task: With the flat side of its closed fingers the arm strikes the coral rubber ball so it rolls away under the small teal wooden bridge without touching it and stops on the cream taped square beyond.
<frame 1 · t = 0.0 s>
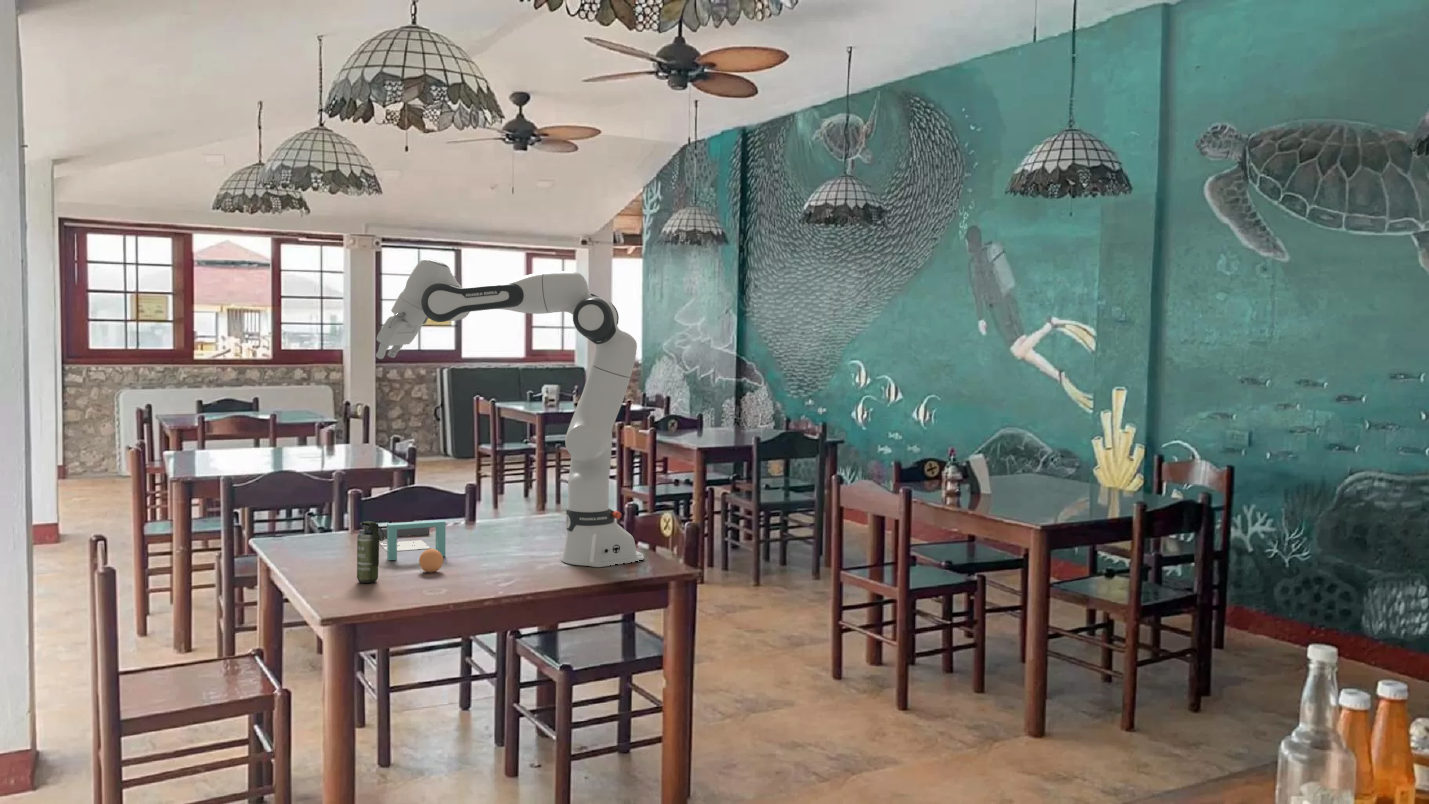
hand: (384, 357, 296), 54 cm above the table, tool tilted 30°, fingers open, 8 cm apart
stopper: (394, 536, 325), on the table
grenade: (370, 582, 270), on the table
ball: (431, 560, 281), on the table
bridge: (416, 557, 298), on the table
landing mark: (404, 546, 312), on the table
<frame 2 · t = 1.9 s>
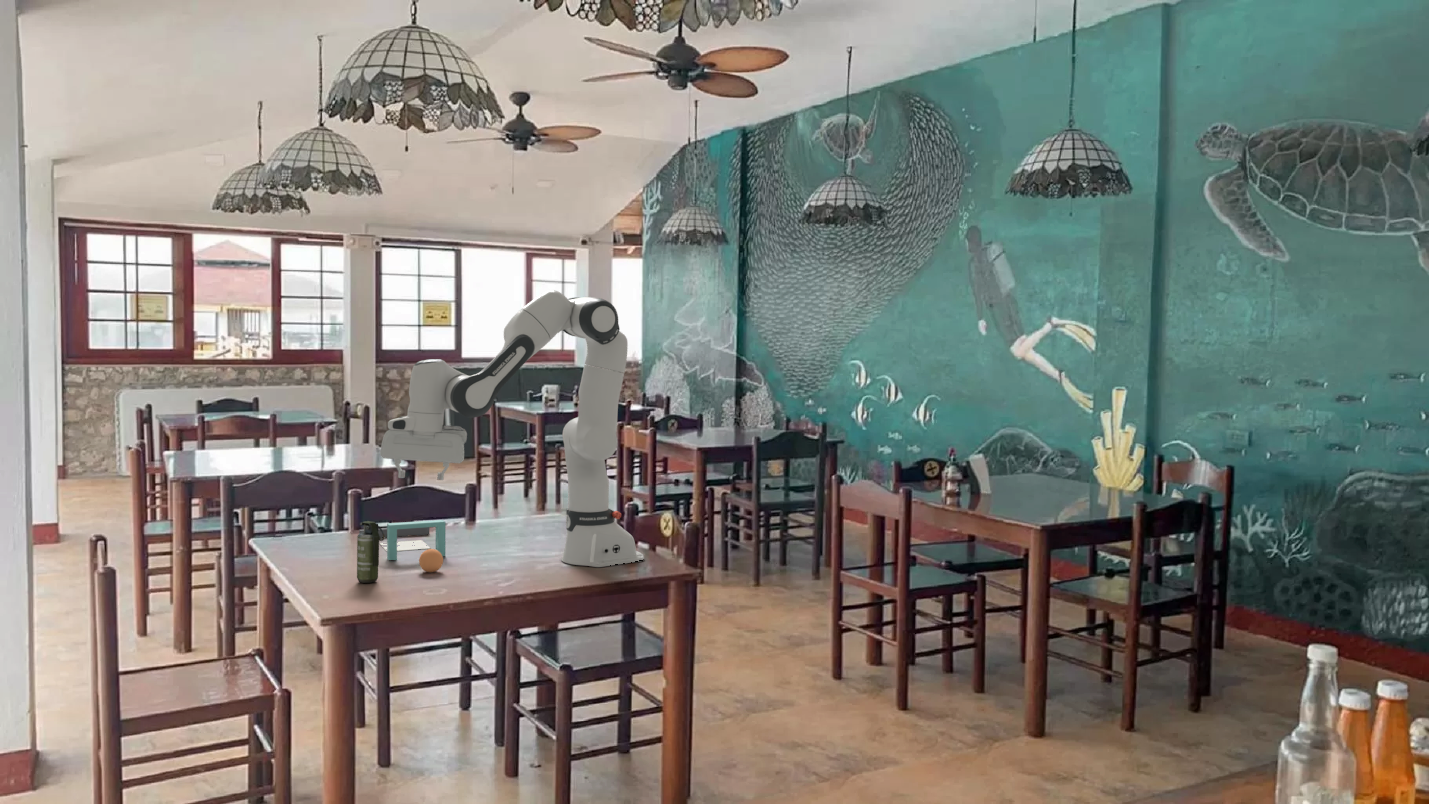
hand: (420, 478, 273), 25 cm above the table, tool pointing down, fingers open, 8 cm apart
nothing on the table moved.
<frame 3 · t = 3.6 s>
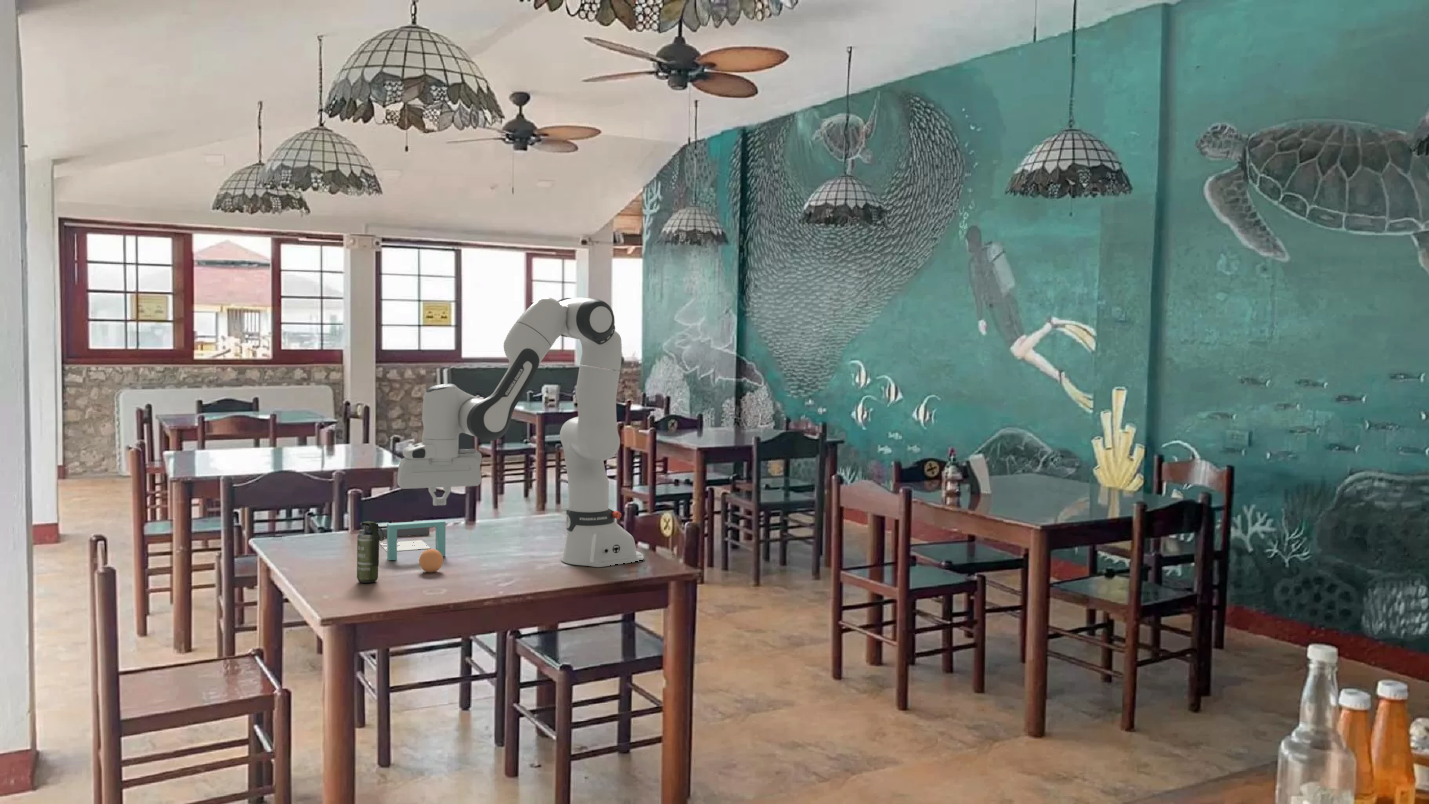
hand: (439, 505, 271), 19 cm above the table, tool pointing down, fingers closed
nothing on the table moved.
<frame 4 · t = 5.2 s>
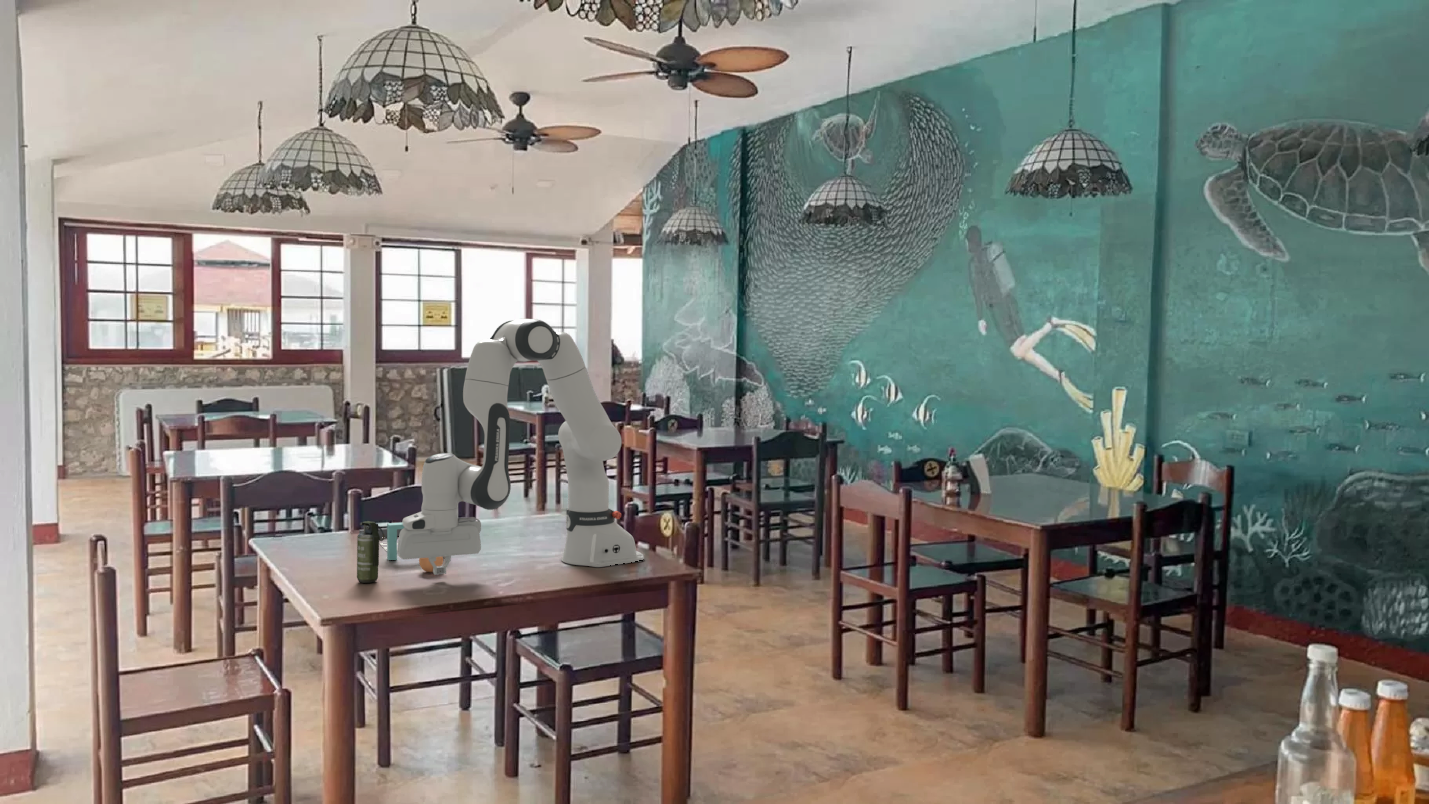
hand: (439, 573, 273), 2 cm above the table, tool pointing down, fingers closed
nothing on the table moved.
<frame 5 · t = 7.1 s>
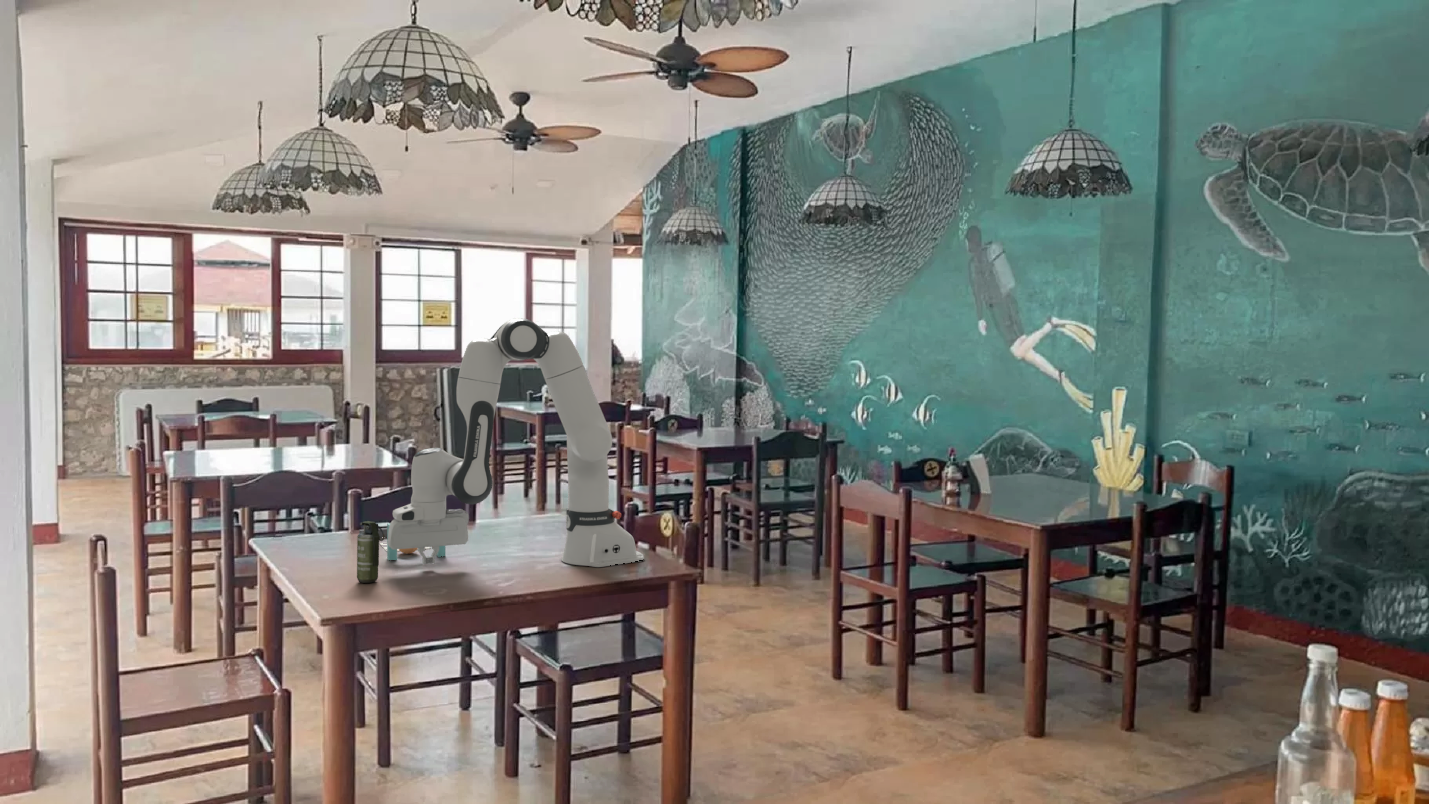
hand: (428, 563, 284), 2 cm above the table, tool pointing down, fingers closed
ball: (408, 542, 302), on the table
everything else where it was.
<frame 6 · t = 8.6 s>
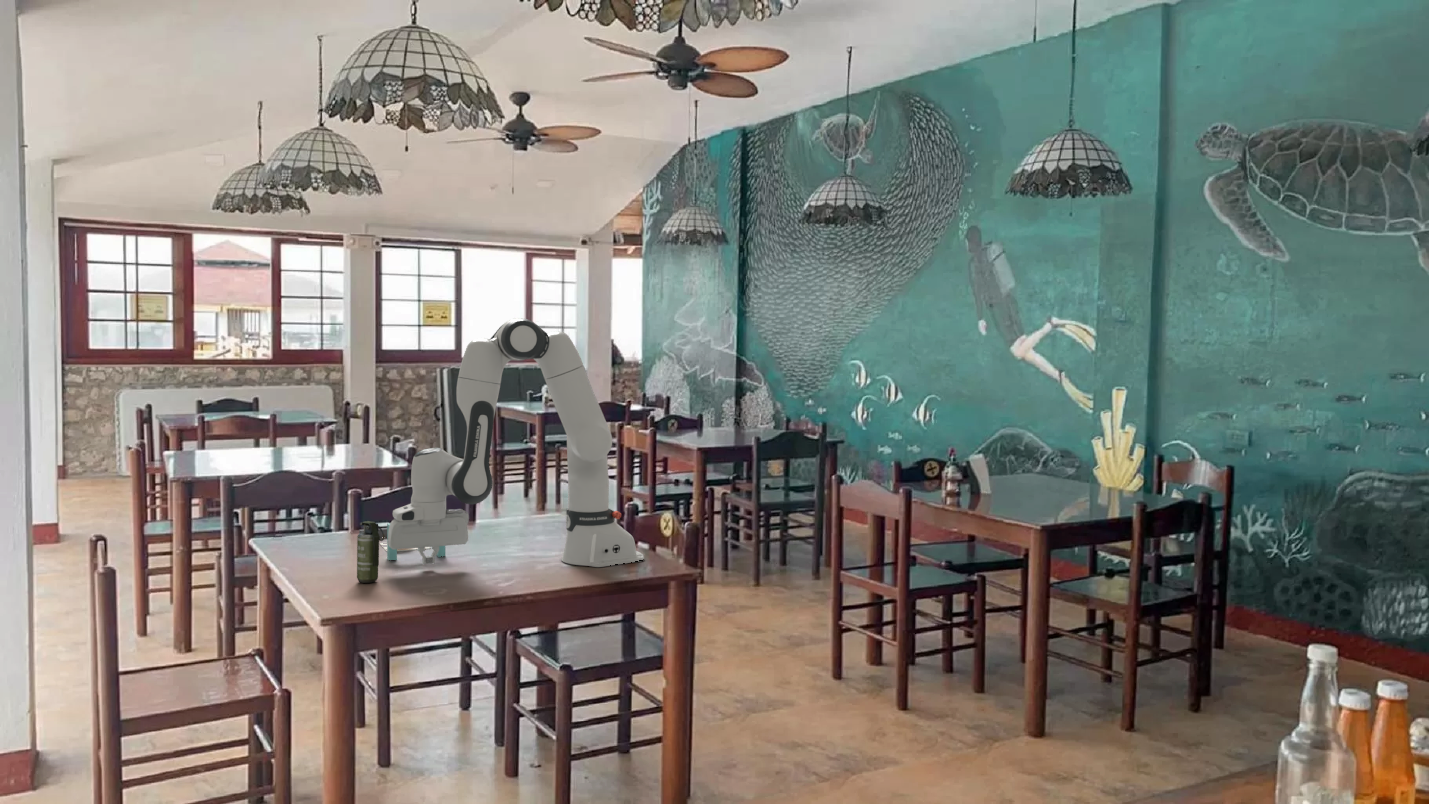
hand: (428, 563, 284), 2 cm above the table, tool pointing down, fingers closed
ball: (401, 537, 309), on the table
everything else where it was.
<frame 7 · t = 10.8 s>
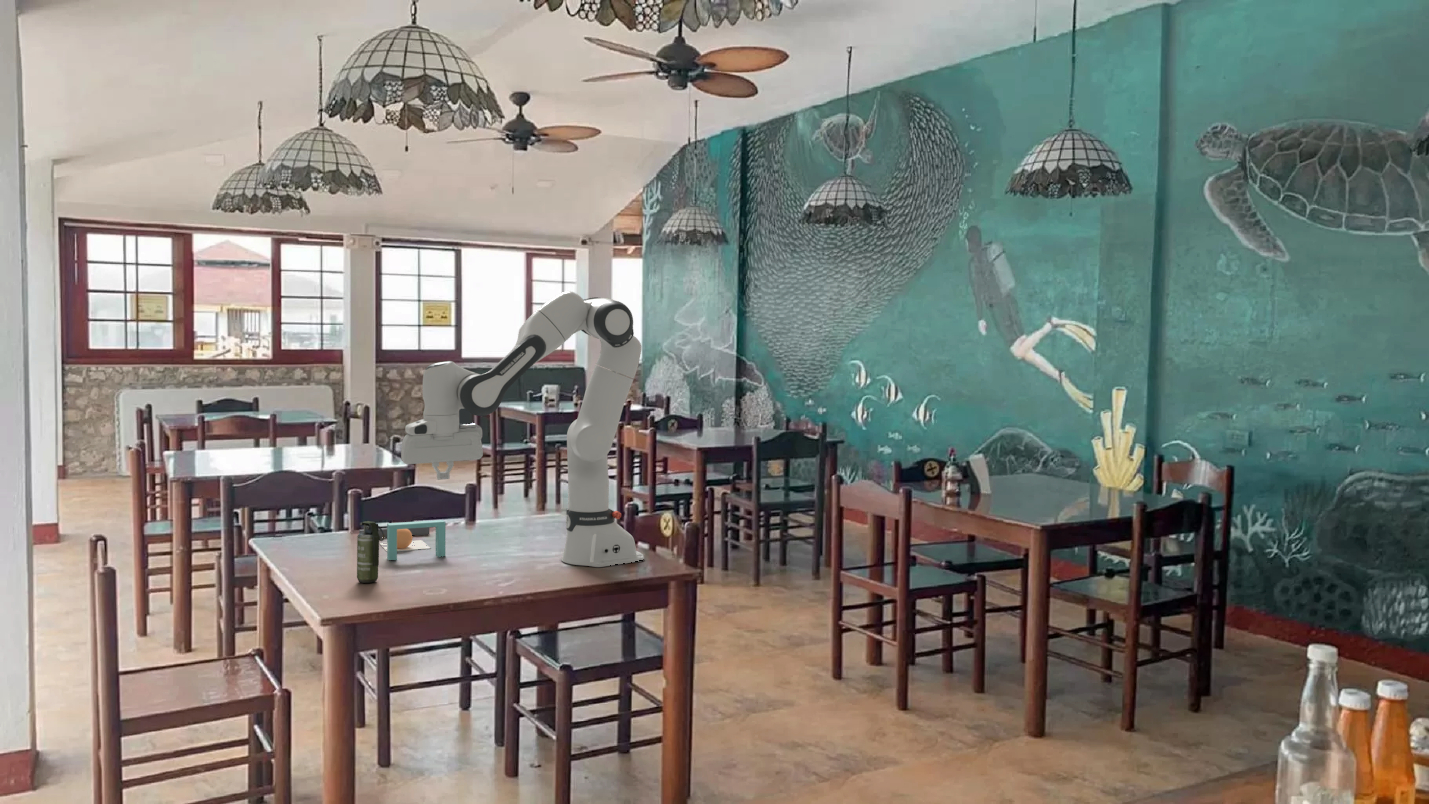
hand: (443, 479, 279), 24 cm above the table, tool pointing down, fingers closed
nothing on the table moved.
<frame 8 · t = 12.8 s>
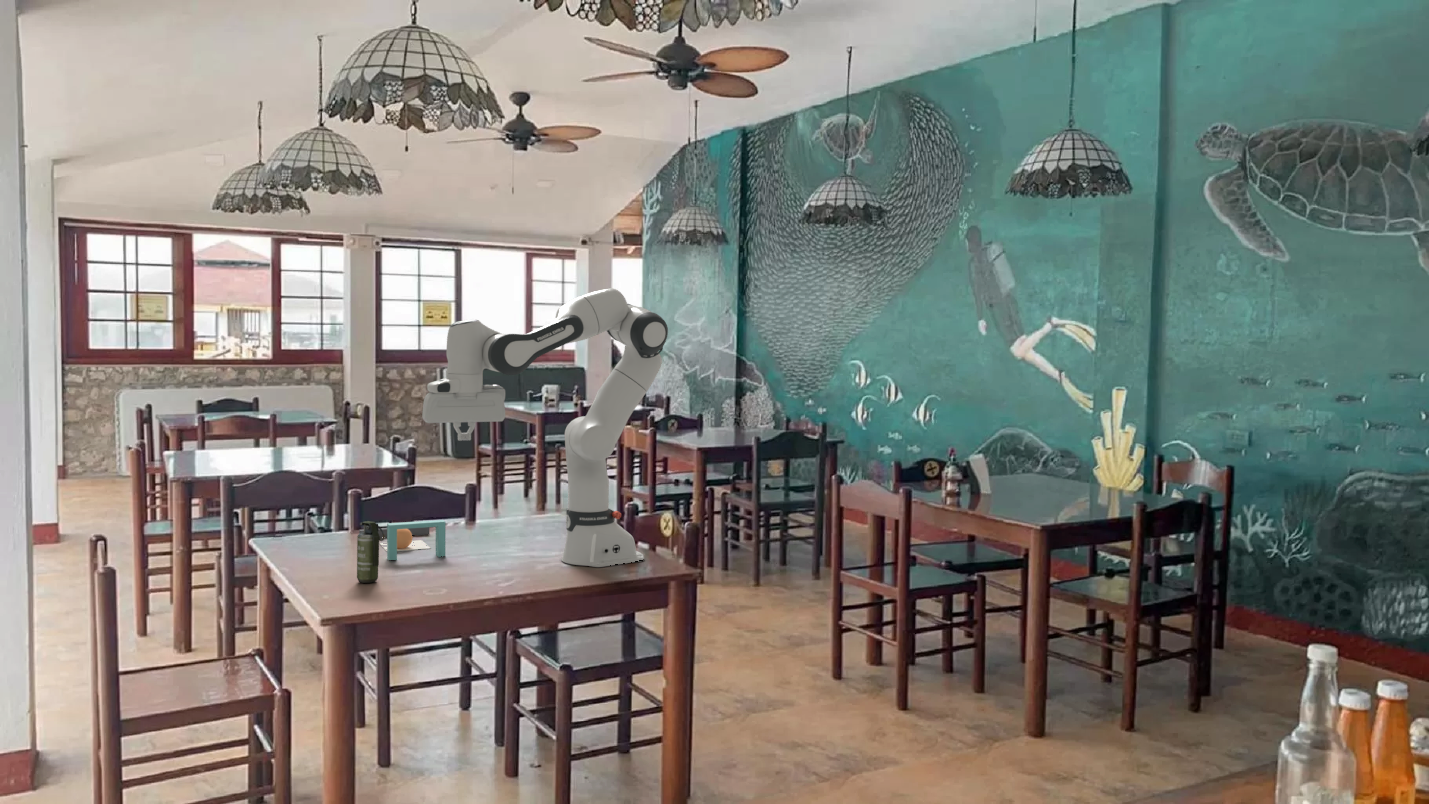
hand: (464, 440, 273), 35 cm above the table, tool pointing down, fingers closed
nothing on the table moved.
at the end: ball 2.9 cm from the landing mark (horizontally); ball never touched bridge; ball at rest at the end (0.0 cm/s) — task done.
